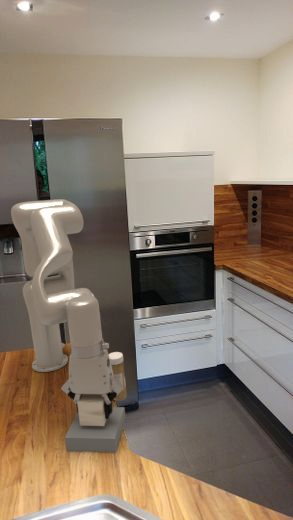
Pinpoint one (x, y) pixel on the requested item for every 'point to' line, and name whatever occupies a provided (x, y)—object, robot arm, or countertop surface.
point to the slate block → (96, 434)
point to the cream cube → (91, 410)
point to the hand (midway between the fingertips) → (95, 414)
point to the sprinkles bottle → (118, 373)
